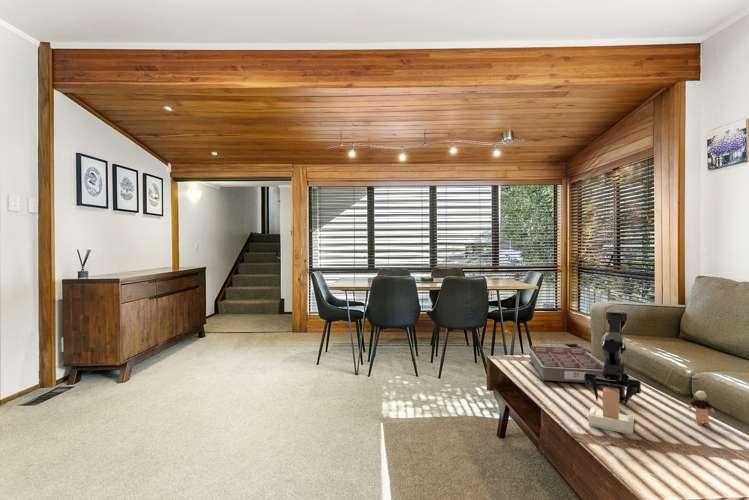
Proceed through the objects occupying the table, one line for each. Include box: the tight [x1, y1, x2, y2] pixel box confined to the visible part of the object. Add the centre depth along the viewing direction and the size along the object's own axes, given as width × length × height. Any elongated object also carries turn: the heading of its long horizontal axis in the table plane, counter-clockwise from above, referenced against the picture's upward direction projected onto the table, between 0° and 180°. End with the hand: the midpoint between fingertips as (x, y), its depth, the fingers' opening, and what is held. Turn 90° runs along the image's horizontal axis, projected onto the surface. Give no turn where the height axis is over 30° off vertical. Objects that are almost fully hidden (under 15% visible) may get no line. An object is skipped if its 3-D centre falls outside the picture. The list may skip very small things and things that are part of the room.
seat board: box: [588, 407, 635, 436], centre depth 152 cm, size 16×14×4 cm
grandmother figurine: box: [687, 390, 716, 427], centre depth 150 cm, size 8×4×13 cm, turn 71°
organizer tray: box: [528, 345, 605, 385], centre depth 214 cm, size 32×40×10 cm
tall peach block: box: [602, 386, 620, 420], centre depth 151 cm, size 6×5×12 cm
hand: (610, 402), depth 149 cm, fingers open, 9 cm apart
